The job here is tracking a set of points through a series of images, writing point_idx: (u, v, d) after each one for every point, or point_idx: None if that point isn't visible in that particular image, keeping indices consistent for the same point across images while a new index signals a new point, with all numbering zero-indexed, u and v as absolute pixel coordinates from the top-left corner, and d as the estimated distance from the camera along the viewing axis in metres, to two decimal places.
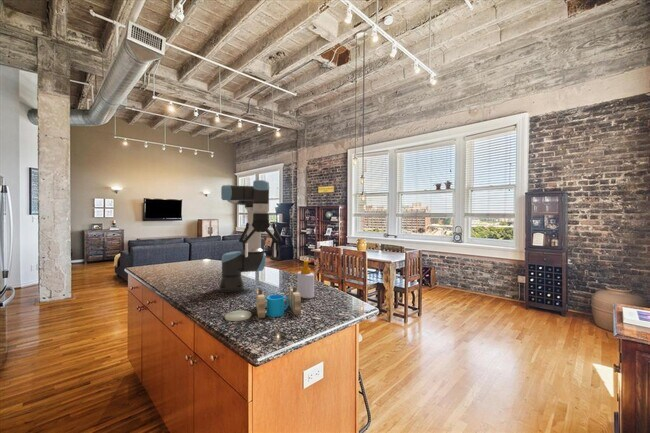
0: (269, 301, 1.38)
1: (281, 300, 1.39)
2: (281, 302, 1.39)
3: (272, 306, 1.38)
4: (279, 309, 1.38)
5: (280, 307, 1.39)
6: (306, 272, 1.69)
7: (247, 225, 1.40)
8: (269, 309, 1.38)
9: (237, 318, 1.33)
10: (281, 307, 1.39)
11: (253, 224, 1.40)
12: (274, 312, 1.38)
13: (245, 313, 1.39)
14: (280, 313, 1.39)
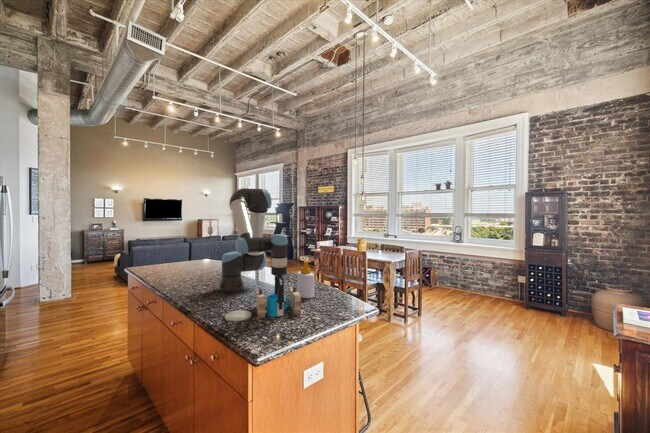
0: (269, 301, 1.39)
1: None
2: None
3: (272, 306, 1.38)
4: None
5: None
6: (306, 272, 1.69)
7: (275, 277, 1.48)
8: (269, 309, 1.39)
9: (237, 318, 1.33)
10: None
11: None
12: (274, 312, 1.38)
13: (245, 313, 1.39)
14: None
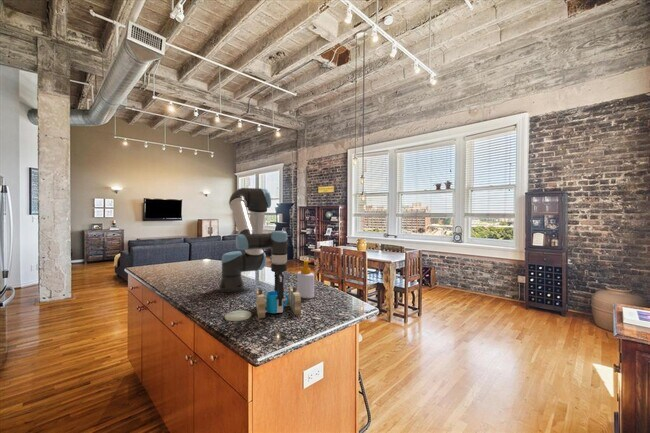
0: (269, 297, 1.39)
1: None
2: None
3: (272, 302, 1.39)
4: None
5: None
6: (306, 272, 1.69)
7: None
8: (269, 305, 1.39)
9: (237, 318, 1.33)
10: None
11: None
12: (274, 308, 1.39)
13: (245, 313, 1.39)
14: None
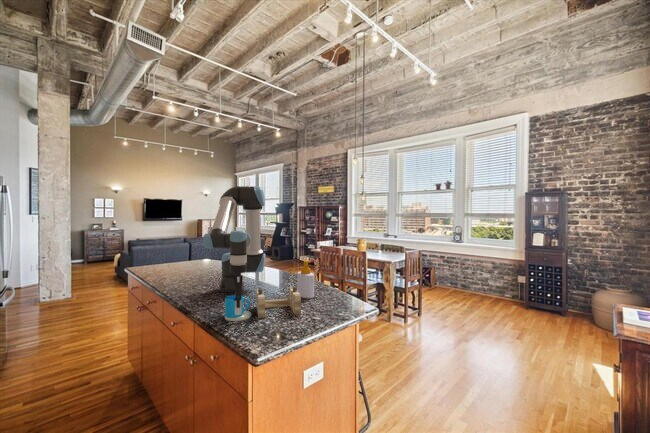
0: (226, 302, 1.34)
1: None
2: None
3: (229, 307, 1.33)
4: None
5: None
6: (306, 272, 1.69)
7: None
8: (226, 310, 1.34)
9: (237, 318, 1.33)
10: None
11: None
12: (231, 313, 1.33)
13: (245, 313, 1.39)
14: None
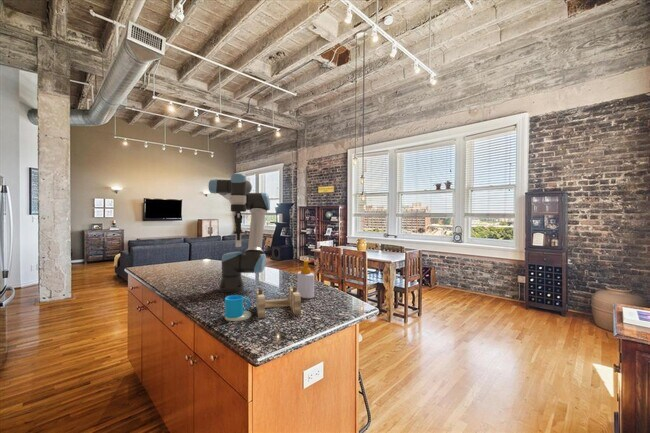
0: (226, 302, 1.34)
1: (239, 301, 1.35)
2: (239, 303, 1.35)
3: (229, 307, 1.33)
4: (237, 310, 1.34)
5: (238, 308, 1.34)
6: (306, 272, 1.69)
7: None
8: (226, 310, 1.34)
9: (237, 318, 1.33)
10: (239, 308, 1.35)
11: None
12: (231, 313, 1.33)
13: (245, 313, 1.39)
14: (238, 314, 1.34)
